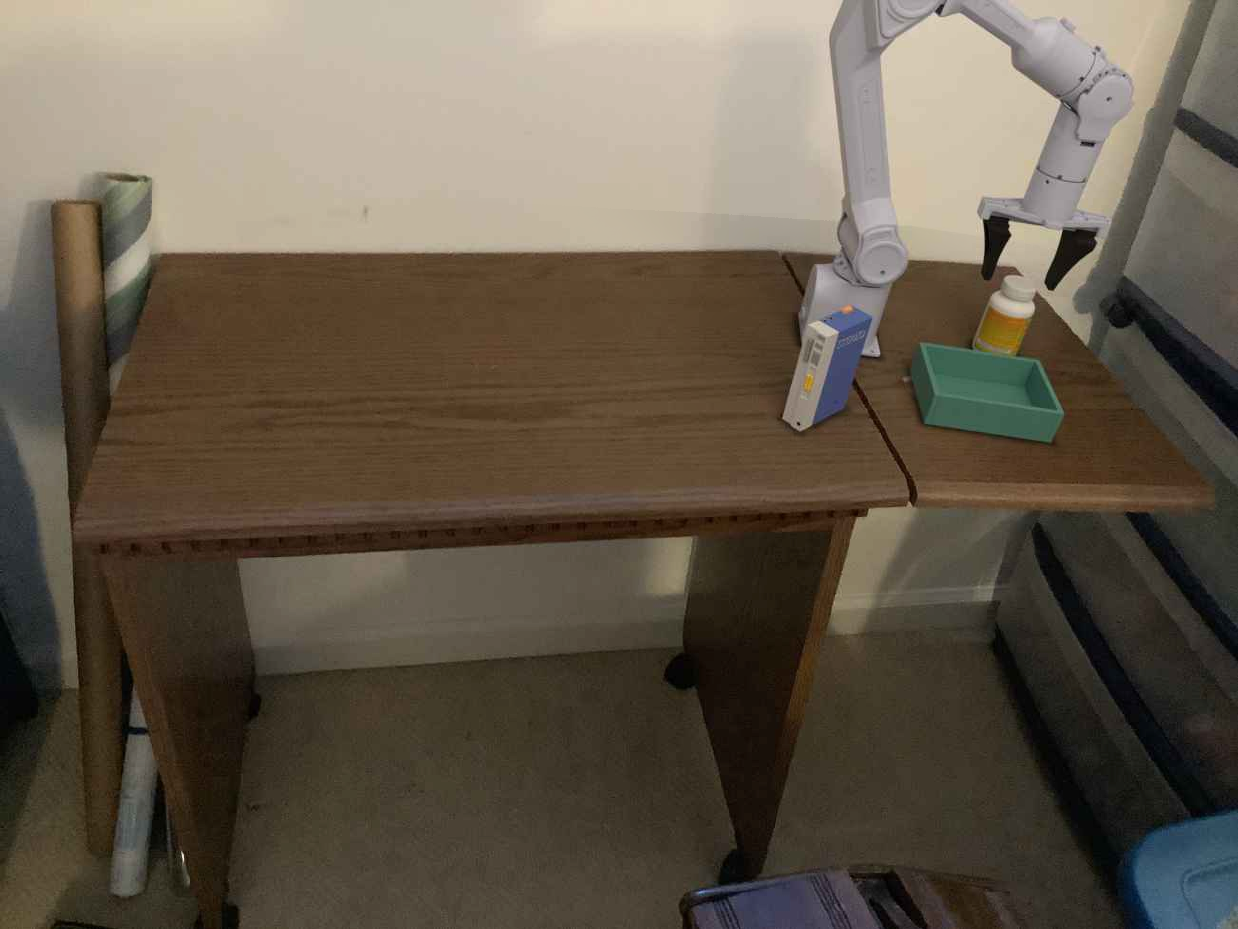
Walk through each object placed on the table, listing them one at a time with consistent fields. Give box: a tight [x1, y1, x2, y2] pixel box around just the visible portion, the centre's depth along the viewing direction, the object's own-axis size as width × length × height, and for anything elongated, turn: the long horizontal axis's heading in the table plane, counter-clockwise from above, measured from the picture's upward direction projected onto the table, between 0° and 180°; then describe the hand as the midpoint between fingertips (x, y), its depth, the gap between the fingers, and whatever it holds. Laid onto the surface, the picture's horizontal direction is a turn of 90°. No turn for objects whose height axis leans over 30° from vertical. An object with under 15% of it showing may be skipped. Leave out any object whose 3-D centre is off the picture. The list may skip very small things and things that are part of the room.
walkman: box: [781, 306, 873, 432], centre depth 106 cm, size 8×3×12 cm, turn 133°
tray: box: [908, 341, 1065, 444], centre depth 115 cm, size 14×11×4 cm
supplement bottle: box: [971, 274, 1039, 357], centre depth 123 cm, size 5×5×10 cm
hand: (1017, 281), depth 121 cm, fingers open, 7 cm apart
